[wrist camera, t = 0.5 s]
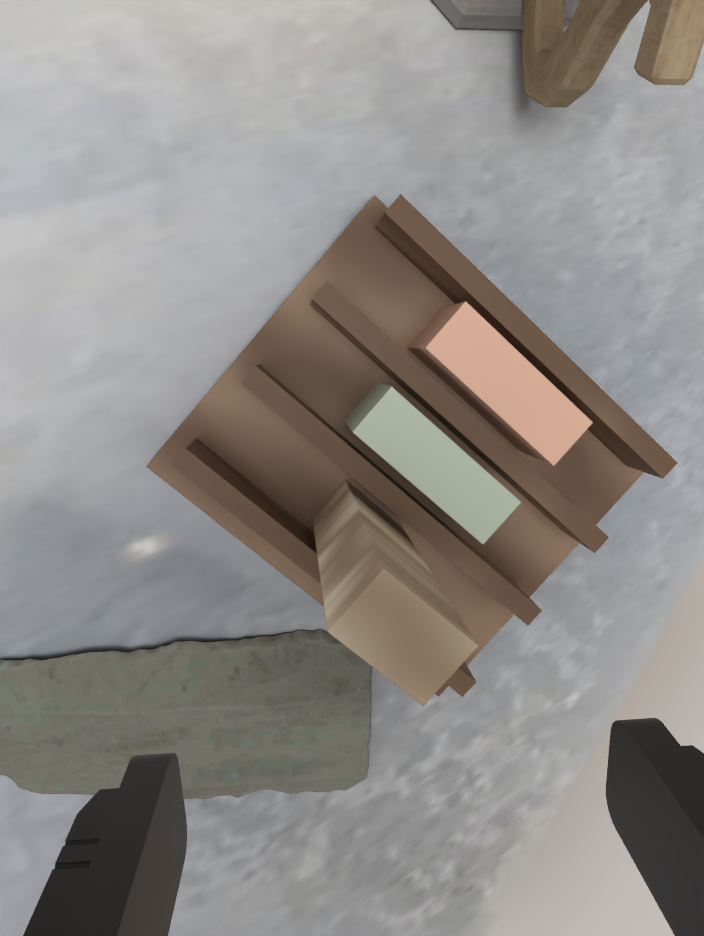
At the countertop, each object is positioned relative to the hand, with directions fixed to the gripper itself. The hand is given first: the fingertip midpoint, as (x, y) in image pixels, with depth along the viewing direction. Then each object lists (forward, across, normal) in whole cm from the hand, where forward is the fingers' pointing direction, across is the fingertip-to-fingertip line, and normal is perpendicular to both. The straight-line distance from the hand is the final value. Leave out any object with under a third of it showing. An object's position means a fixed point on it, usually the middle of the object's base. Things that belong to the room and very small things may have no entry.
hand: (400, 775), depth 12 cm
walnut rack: (+24, +3, -1) cm, 24 cm away
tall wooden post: (+22, 0, -3) cm, 22 cm away
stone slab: (+23, -10, -15) cm, 29 cm away
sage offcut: (+22, +4, 0) cm, 23 cm away
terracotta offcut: (+23, +7, +4) cm, 24 cm away
